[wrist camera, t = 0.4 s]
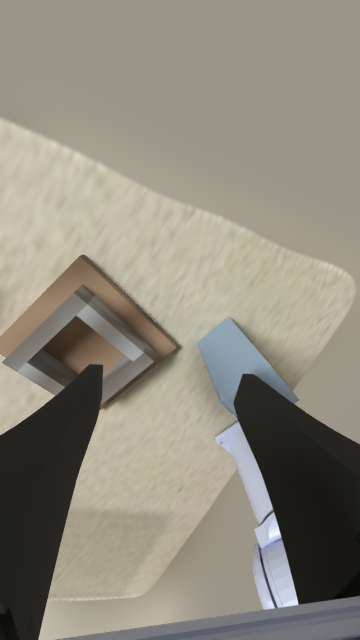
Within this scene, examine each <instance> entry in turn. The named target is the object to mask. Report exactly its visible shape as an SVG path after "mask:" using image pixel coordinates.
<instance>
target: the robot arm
mask: <svg viewBox="0 0 360 640" xmlns="http://www.w3.org/2000/svg"><path fill="white" fill-rule="evenodd" d="M102 387H103V365H99V364H89V365H88V366H87V367H86V368H85V369H84V370H83V371H82V372H81V373H80V374H79V375H78V376H77V377H76V378H75V379H74V380H73V381H71V382H70V383H69V384H68V385H67V386H66V387H65V388H64V389H63V390H62V391H60V392H59V393H58V394H57V395H56V396H55V397H53V398H52V399H51V400H50V401H49V402H47V403H46V404H45V405H44V406H42V407H41V408H40V409H38V410H37V411H36V412H35V413H33V414H32V415H30V416H29V417H28V418H26V419H25V420H23V421H22V422H21V423H19V424H18V425H16V426H15V427H13V428H12V429H10V430H8V431H7V432H5V433H4V434H2V435H0V640H38V638H39V634H40V629H41V625H42V620H43V616H44V611H45V607H46V603H47V599H48V594H49V590H50V585H51V581H52V577H53V573H54V568H55V564H56V560H57V556H58V552H59V547H60V543H61V539H62V535H63V531H64V527H65V523H66V519H67V515H68V511H69V507H70V503H71V499H72V495H73V491H74V488H75V484H76V480H77V477H78V473H79V470H80V467H81V464H82V461H83V458H84V456H85V453H86V450H87V447H88V444H89V441H90V439H91V436H92V433H93V430H94V427H95V424H96V421H97V418H98V414H99V410H100V406H101V401H102ZM233 404H234V408H235V411H236V415H237V418H238V422H236V423H235V424H234V425H232V426H231V427H229V428H228V429H226V430H225V431H223V432H222V433H220V434H219V435H218V436H216V437H215V441H216V443H218V444H219V445H220V446H221V447H223V448H224V449H225V450H227V451H228V452H229V453H231V454H232V455H233V456H234V459H235V462H236V465H237V467H238V470H239V473H240V476H241V478H242V481H243V484H244V487H245V489H246V492H247V495H248V498H249V501H250V503H251V506H252V509H253V512H254V514H255V517H256V520H257V523H258V526H259V527H257V528H255V529H254V530H255V533H256V536H257V539H258V542H259V543H257V544H255V545H254V548H253V558H252V566H253V573H254V578H255V583H256V586H257V590H258V594H259V597H260V600H261V603H262V606H263V609H264V610H259V611H252V612H245V613H238V614H231V615H224V616H217V617H210V618H204V619H197V620H190V621H183V622H176V623H169V624H162V625H155V626H148V627H141V628H134V629H127V630H120V631H113V632H106V633H99V634H93V635H86V636H78V637H71V638H64V639H57V640H360V444H358V443H356V442H354V441H352V440H351V439H349V438H347V437H345V436H343V435H341V434H340V433H338V432H336V431H334V430H333V429H331V428H329V427H328V426H326V425H325V424H323V423H321V422H320V421H318V420H317V419H315V418H313V417H312V416H310V415H309V414H307V413H306V412H305V411H303V410H302V409H300V408H299V407H297V406H296V405H294V404H293V403H292V402H290V401H289V400H288V399H286V398H285V397H284V396H282V395H281V394H280V393H279V392H277V391H276V390H275V389H273V388H272V387H271V386H269V385H268V384H267V383H265V382H264V381H263V380H261V379H260V378H259V377H257V376H256V375H254V374H244V373H243V374H242V377H241V380H240V383H239V387H238V390H237V393H236V396H235V399H234V402H233Z"/></svg>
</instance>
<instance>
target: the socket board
mask: <svg viewBox="0 0 360 640" xmlns="http://www.w3.org/2000/svg"><path fill="white" fill-rule="evenodd" d="M176 348H177V347H176V342H174V341H173V340H172V339H171V338H170V337H169V336H168V335H167V334H166V333H165V332H164V331H163V330H162V329H161V328H160V327H159V326H158V325H157V324H156V323H155V322H154V321H153V320H151V319H150V318H149V317H148V316H147V315H146V314H145V313H144V312H143V311H142V310H141V309H140V308H139V307H138V306H137V305H136V304H135V303H134V302H133V301H132V300H131V299H130V298H129V297H127V296H126V295H125V294H124V293H123V292H122V291H121V290H120V289H119V288H118V287H117V286H116V285H115V284H114V283H113V282H112V281H111V280H110V279H109V278H108V277H107V276H106V275H104V274H103V273H102V272H101V271H100V270H99V269H98V268H97V267H96V266H95V265H94V264H93V263H92V262H91V261H90V260H89V259H88V258H87V257H86V256H85V255H84V254H83V255H81V256H79V257H78V258H77V259H76V260H75V261H74V262H73V263H72V264H71V265H70V267H69V268H68V269H67V270H66V271H65V272H64V273H63V274H62V275H61V276H60V277H59V278H58V279H57V280H56V281H55V282H54V283H53V284H52V285H51V286H50V287H49V288H48V289H47V290H46V291H45V292H44V293H43V294H42V295H41V296H40V297H39V298H38V299H37V300H36V301H35V302H34V303H33V304H32V305H31V306H30V307H29V308H28V309H27V310H26V311H25V312H24V313H23V314H22V315H21V316H20V317H19V318H18V319H17V320H16V321H15V322H14V323H13V324H12V325H11V326H10V327H9V328H8V329H7V330H6V331H5V332H4V333H3V334H2V335H1V336H0V354H1V355H3V356H4V357H6V359H5V360H4V361H3V362H2V363H3V364H5V365H7V366H8V367H10V368H12V369H13V370H15V371H16V372H18V373H20V374H21V375H23V376H25V377H26V378H28V379H29V380H31V381H33V382H34V383H36V384H38V385H39V386H41V387H42V388H44V389H46V390H47V391H49V392H51V393H52V394H54V395H55V396H56V395H57V394H58V393H59V392H60V391H62V390H63V389H64V388H65V387H66V386H67V385H68V384H69V383H70V382H71V381H73V380H74V379H75V378H76V377H77V376H78V375H79V374H80V373H81V372H82V371H83V370H84V369H85V368H86V367H87V366H88V365H89V364H99V365H103V387H102V401H101V406H100V410H101V409H102V408H103V407H104V406H106V405H107V404H108V403H109V402H111V401H112V400H113V399H114V398H116V397H117V396H118V395H119V394H120V393H122V392H123V391H124V390H125V389H127V388H128V387H129V386H130V385H132V384H133V383H134V382H135V381H136V380H138V379H139V378H140V377H141V376H143V375H144V374H145V373H146V372H148V371H149V370H150V369H151V368H152V367H154V366H155V365H156V364H157V363H159V362H160V361H161V360H162V359H164V358H165V357H166V356H167V355H168V354H170V353H171V352H172V351H173V350H175V349H176ZM100 410H99V411H100Z"/></svg>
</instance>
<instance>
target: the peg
mask: <svg viewBox="0 0 360 640" xmlns="http://www.w3.org/2000/svg"><path fill="white" fill-rule="evenodd" d="M197 344H198V347H199V349H200V352H201V354H202V357H203V359H204V362H205V364H206V367H207V369H208V372H209V374H210V377H211V379H212V382H213V384H214V387H215V389H216V392H217V394H218V397H219V400H220V402H221V403H222V404H223V405H224V406H225V407H226V408H227V409H228V410H229V411H230V412H232V413H233V414H234V415H235V416H236V417H237V415H236V411H235V408H234V404H233V402H234V399H235V396H236V393H237V390H238V387H239V383H240V380H241V377H242V374H243V373H244V374H254V375H256V376H257V377H259V378H260V379H261V380H263V381H264V382H265V383H267V384H268V385H269V386H271V387H272V388H273V389H275V390H276V391H277V392H279V393H280V394H281V395H282V396H284V397H285V398H286V399H288V400H289V401H290V402H292V403H293V404H294V403H296V402H297V401H299V399H298V398H297V396H296V395H295V394H294V393H293V392H292V390H291V389H290V388H289V387H288V386H287V384H286V383H285V382H284V381H283V380H282V378H281V377H280V376H279V375H278V374H277V372H276V371H275V370H274V369H273V368H272V366H271V365H270V364H269V363H268V362H267V361H266V359H265V358H264V357H263V356H262V355H261V354H260V352H259V351H258V350H257V349H256V348H255V347H254V345H253V344H252V343H251V342H250V341H249V340H248V338H247V337H246V336H245V335H244V334H243V333H242V331H241V330H240V329H239V328H238V327H237V326H236V324H235V323H234V322H233V321H232V320H231V319H230V317H228V318H227V319H225V320H224V321H223V322H222V323H220V324H219V325H218V326H217V327H215V328H214V329H213V330H212V331H210V332H209V333H208V334H207V335H205V336H204V337H203V338H202V339H200V340H199V341H198V342H197Z"/></svg>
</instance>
